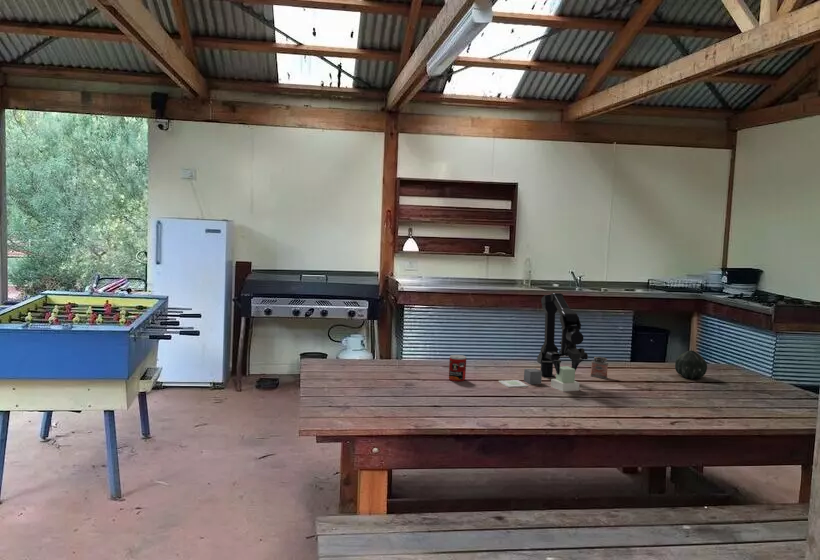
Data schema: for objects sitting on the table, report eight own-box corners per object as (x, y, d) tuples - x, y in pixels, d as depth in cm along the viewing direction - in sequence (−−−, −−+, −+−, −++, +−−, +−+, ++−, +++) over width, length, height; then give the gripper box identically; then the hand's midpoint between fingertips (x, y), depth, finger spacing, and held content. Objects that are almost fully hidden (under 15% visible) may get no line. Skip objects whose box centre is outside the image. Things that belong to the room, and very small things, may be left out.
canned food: (446, 380, 297) (447, 356, 296) (451, 376, 304) (452, 353, 303) (462, 382, 294) (463, 358, 293) (467, 378, 301) (468, 355, 300)
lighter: (589, 376, 318) (591, 356, 317) (591, 375, 321) (592, 355, 320) (606, 378, 314) (607, 358, 313) (607, 377, 317) (609, 357, 316)
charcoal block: (523, 381, 302) (524, 368, 301) (535, 380, 304) (535, 368, 303) (529, 384, 296) (530, 371, 296) (541, 384, 298) (542, 371, 297)
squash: (695, 362, 336) (682, 342, 331) (717, 370, 321) (704, 349, 317) (677, 381, 333) (663, 360, 329) (698, 389, 319) (684, 368, 315)
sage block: (555, 379, 293) (556, 366, 293) (567, 379, 295) (568, 366, 294) (562, 382, 287) (563, 369, 287) (574, 382, 289) (575, 369, 289)
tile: (498, 381, 298) (498, 380, 298) (517, 381, 301) (518, 379, 301) (508, 387, 288) (508, 385, 288) (528, 386, 291) (528, 385, 291)
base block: (550, 387, 294) (551, 379, 294) (566, 386, 297) (567, 378, 297) (562, 392, 286) (563, 383, 285) (579, 391, 289) (579, 382, 289)
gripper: (559, 344, 279) (556, 379, 280) (596, 343, 285) (593, 377, 286) (546, 339, 290) (544, 373, 291) (582, 338, 295) (579, 372, 297)
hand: (565, 374), depth 291 cm, fingers open, 7 cm apart
